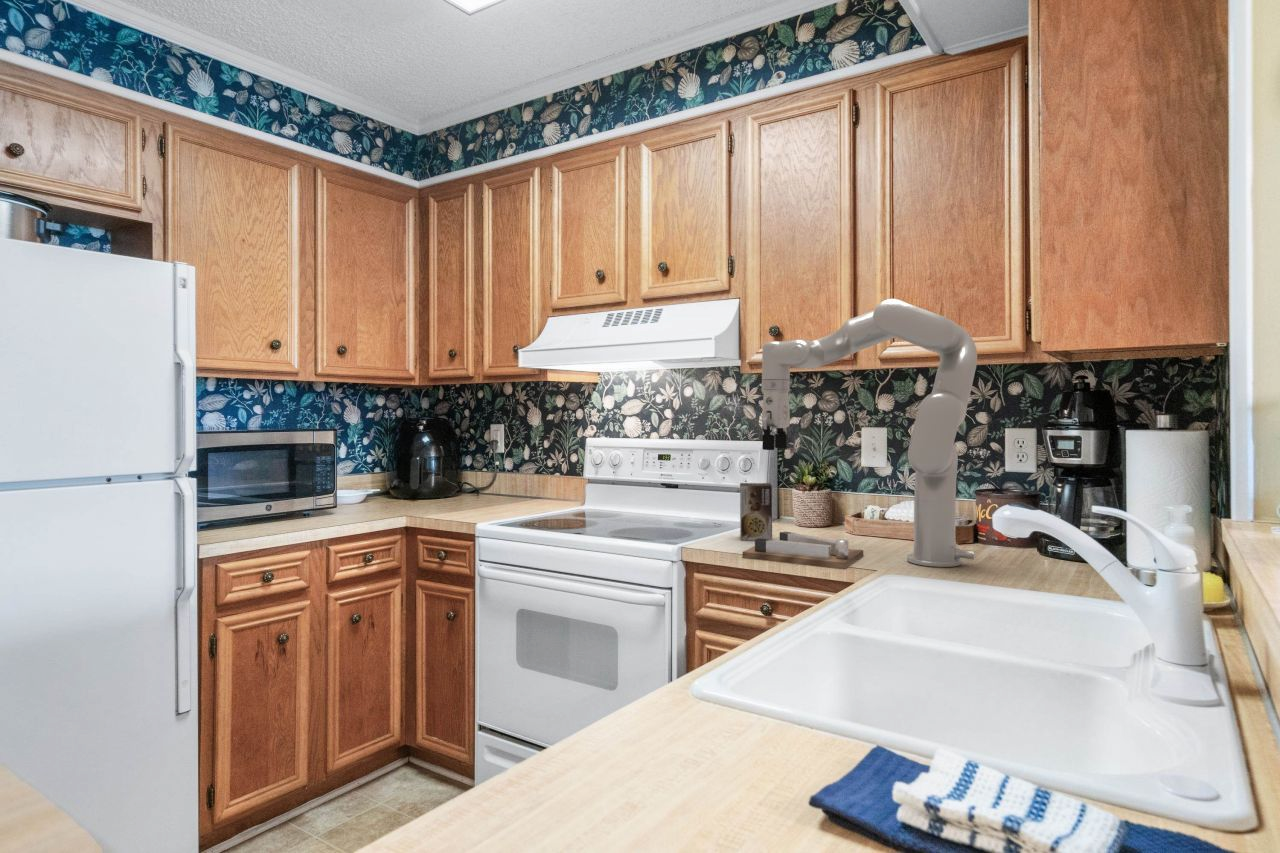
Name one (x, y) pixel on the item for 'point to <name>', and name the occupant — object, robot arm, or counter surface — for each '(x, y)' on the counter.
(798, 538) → the arm
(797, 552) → the tongs fixed
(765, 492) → the printed cardboard box
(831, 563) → the cutting board
